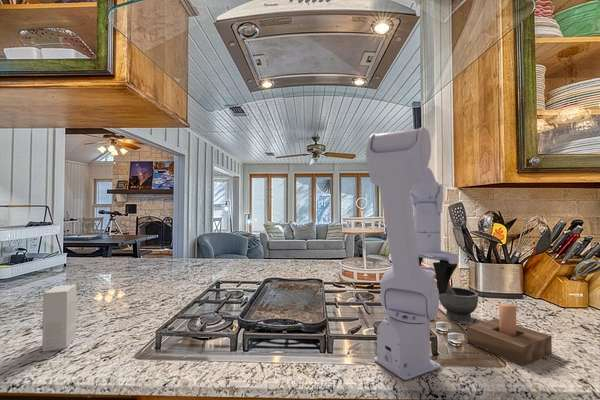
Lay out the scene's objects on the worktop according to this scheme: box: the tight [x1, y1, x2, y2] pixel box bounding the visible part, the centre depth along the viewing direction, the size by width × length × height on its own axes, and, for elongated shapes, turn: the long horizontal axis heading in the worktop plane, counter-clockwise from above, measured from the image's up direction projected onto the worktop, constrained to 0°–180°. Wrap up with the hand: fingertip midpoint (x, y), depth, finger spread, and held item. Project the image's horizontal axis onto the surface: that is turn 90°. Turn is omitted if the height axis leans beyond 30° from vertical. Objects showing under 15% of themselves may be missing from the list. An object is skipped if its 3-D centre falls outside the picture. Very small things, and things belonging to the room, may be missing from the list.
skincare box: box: [41, 284, 77, 353], centre depth 65 cm, size 6×4×12 cm
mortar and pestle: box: [433, 273, 479, 322], centre depth 83 cm, size 11×9×12 cm
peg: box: [498, 302, 517, 337], centre depth 64 cm, size 3×3×9 cm
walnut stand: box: [466, 318, 553, 367], centre depth 64 cm, size 11×11×4 cm
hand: (427, 289), depth 72 cm, fingers open, 7 cm apart
